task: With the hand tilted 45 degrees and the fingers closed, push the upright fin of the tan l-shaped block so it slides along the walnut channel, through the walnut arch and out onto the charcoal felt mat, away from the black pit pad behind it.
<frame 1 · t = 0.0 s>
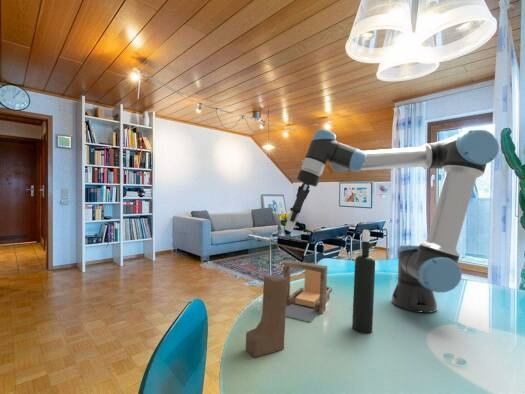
hand: (288, 228, 101), 28 cm above the table, tool tilted 20°, fingers open, 13 cm apart
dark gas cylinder: (362, 330, 86), on the table
felt mat: (298, 312, 96), on the table
tan l-shaped block: (310, 285, 108), point 6 cm above the table, slide at 0.0 cm
wooden block: (264, 350, 72), on the table
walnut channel: (306, 304, 104), on the table
pit pad: (320, 291, 121), on the table
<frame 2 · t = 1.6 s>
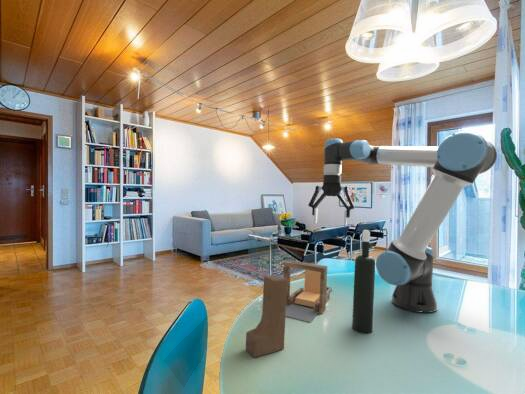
hand: (330, 224, 124), 28 cm above the table, tool pointing down, fingers open, 12 cm apart
nothing on the table moved.
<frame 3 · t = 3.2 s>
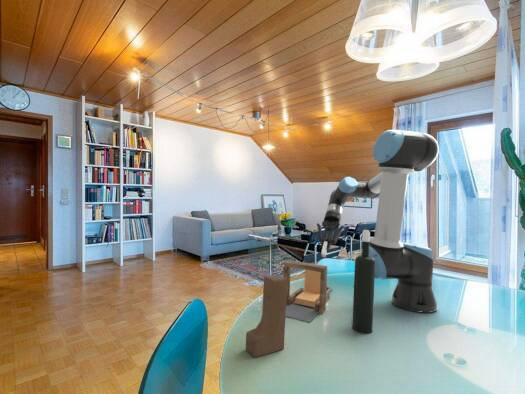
hand: (323, 255, 123), 15 cm above the table, tool tilted 45°, fingers closed
nothing on the table moved.
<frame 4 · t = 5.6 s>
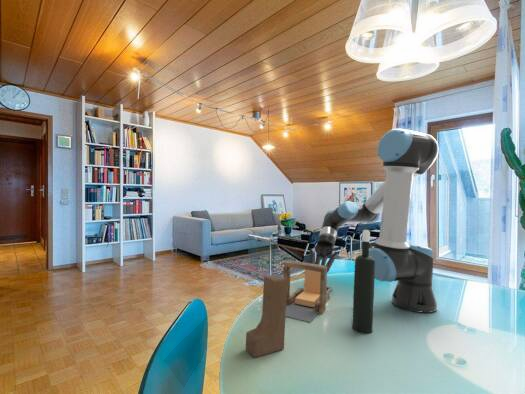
hand: (314, 285, 114), 4 cm above the table, tool tilted 45°, fingers closed
tan l-shaped block: (309, 285, 107), point 6 cm above the table, slide at 0.2 cm, touching gripper
everything else where it was.
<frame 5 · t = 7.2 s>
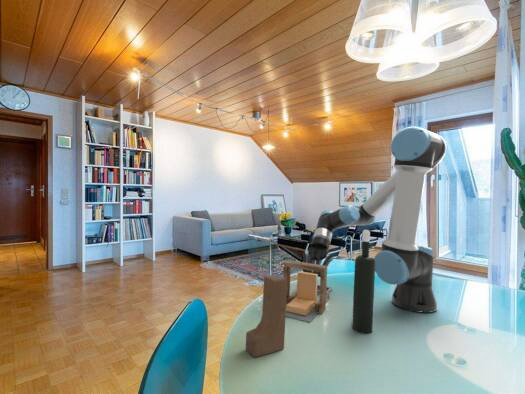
hand: (307, 290, 107), 4 cm above the table, tool tilted 45°, fingers closed
tan l-shaped block: (302, 291, 100), point 6 cm above the table, slide at 8.7 cm, touching gripper
everything else where it was.
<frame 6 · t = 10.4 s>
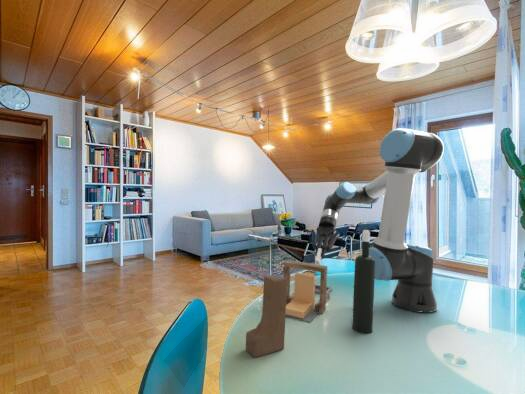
hand: (317, 262, 118), 13 cm above the table, tool tilted 45°, fingers closed
tan l-shaped block: (299, 294, 97), point 6 cm above the table, slide at 11.4 cm
everything else where it was.
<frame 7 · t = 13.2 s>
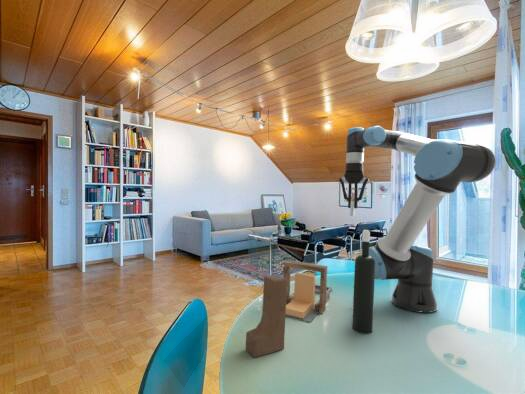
hand: (352, 215, 127), 32 cm above the table, tool pointing down, fingers closed
nothing on the table moved.
at the end: tan l-shaped block slide at 11.4 cm; tan l-shaped block inside the target area on the felt mat (1.1 cm from its centre), point 6.0 cm above the felt mat's base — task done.
